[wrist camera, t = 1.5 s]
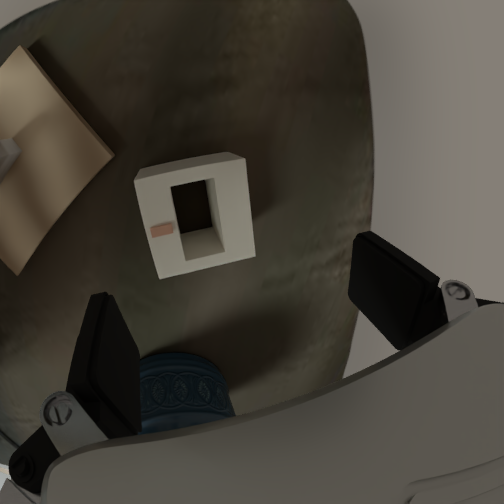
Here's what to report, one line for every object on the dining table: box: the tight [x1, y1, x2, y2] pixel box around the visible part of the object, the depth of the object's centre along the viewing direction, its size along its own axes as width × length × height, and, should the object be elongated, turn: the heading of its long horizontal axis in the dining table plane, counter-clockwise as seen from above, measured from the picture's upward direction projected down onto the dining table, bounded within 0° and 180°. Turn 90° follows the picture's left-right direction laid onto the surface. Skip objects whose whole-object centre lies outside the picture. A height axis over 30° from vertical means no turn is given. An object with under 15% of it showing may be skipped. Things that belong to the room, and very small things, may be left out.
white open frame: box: [134, 152, 255, 279], centre depth 19 cm, size 7×7×5 cm
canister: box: [138, 353, 236, 435], centre depth 23 cm, size 13×13×18 cm
